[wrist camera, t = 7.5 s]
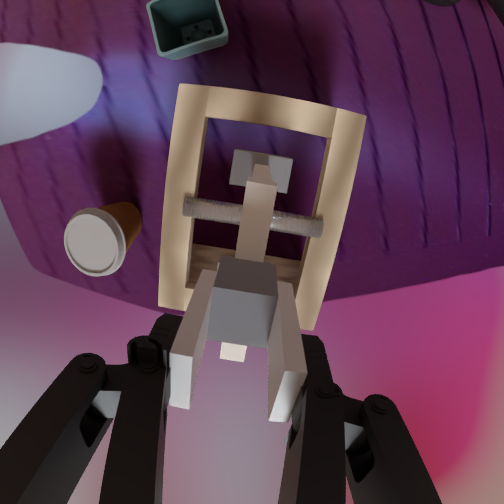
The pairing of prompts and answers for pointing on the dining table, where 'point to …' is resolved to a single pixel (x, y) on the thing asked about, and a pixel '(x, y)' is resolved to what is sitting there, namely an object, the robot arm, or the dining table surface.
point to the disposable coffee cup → (101, 237)
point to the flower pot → (186, 26)
